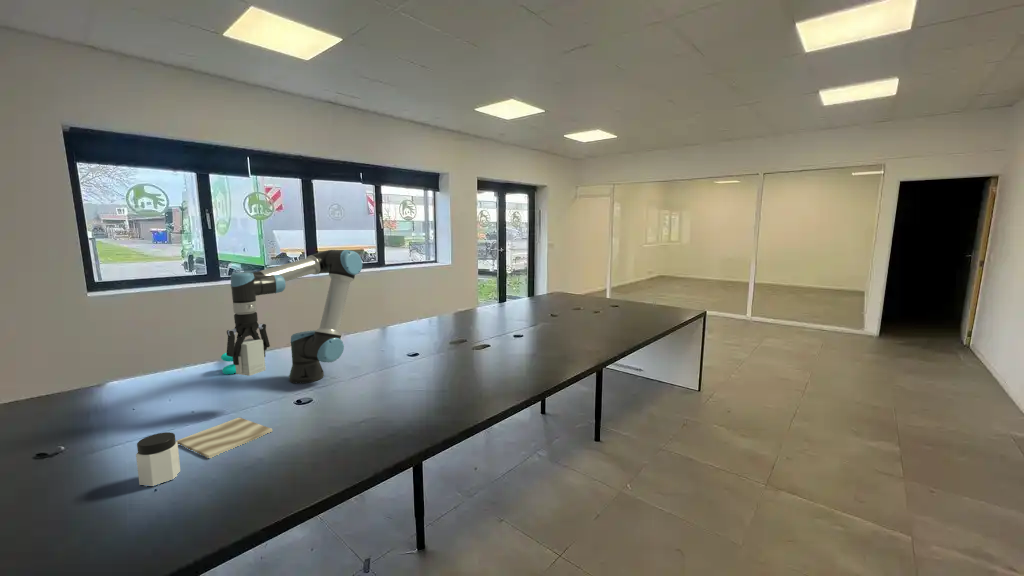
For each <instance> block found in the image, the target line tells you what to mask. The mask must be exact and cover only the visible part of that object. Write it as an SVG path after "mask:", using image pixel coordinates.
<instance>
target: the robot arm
mask: <svg viewBox="0 0 1024 576" xmlns="http://www.w3.org/2000/svg"><path fill="white" fill-rule="evenodd" d="M362 269H363V261H362V258H361V256H360V254H359V253H357V252H356V251H354V250H348V249H328V250H324V251H321V252H317V253H313V254H311V255H308V256H306V258H303V259H300V260H296V261H292V262H288V263H284V264H281V265H276V266H274V267H270V268H266V269H263V270H259V271H255V272H254V271H253V272H250V271H246V272H245V271H244V272H234V273H232V274H230V288H231V297H232V298H231V299H232V306H233V307H232V309H233V313H234V315H233V318H234V319H233V320H234V325H235V326H234V328H233V329H228V330H227V329H226V335H227V342H226V353H227V356H230V357H233V361H232V362H233V363H232V364H234V365H236V372H238V373H243V372H242V362H241V356H239V353H240V350H241V344H243V341H244V340H246V338H247V337H249V336H251V337H252V339H255V340H263V347H264V357H265V358H266V355H267V354H266V351H267V348H270V347H271V345H270V342H269V337H268V333H267V324H266V323H259V322H258V312H257V311H258V309H257V308H258V307H257V298H256V297H258V296H261V295H262V296H264V295H274V294H278V293H282V292H283V291H285V289H286V285H287V284H286V282H288V281H289V282H290V281H292V280H295V279H298V278H302V277H305V276H308V275H315V276H316V275H319V274H328V276H329V278H330V282H329V287H328V291H327V295H326V299H325V304H324V307H323V313H322V315H321V320H320V324H319V328H317V329H316V330H314V329H313V330H305V331H300V332H299V331H298V332H295V333H293V334H292V335H291V337H290V349H291V350H290V351H291V363H292V364H291V368H290V373H289V375H288V380H289V382H290V383H293V384H308V383H312V382H317V381H319V380H321V379H323V378H324V377H325V374H324V373H325V372H324V369H323V367H322V364H321V363H334V362H335V361H337V360H338V359H340V357H341V356H342V354H343V352H344V350H345V344H344V342H343V340H342V339H341V338H342V334H341V332H340V327H341V323H342V320H343V315H344V312H345V306H346V301H347V297H348V292H349V288H350V285H351V282H353V281H354V280H355V277H356V275H358V274H359V273H361V271H362ZM258 329H259V330H258ZM258 331H259V333H258ZM236 334H237V335H236ZM259 334H260V336H259ZM235 335H236V336H235ZM234 343H235V346H234ZM323 376H324V377H323Z"/></svg>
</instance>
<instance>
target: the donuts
mask: <svg viewBox="0 0 1024 576" xmlns="http://www.w3.org/2000/svg"><path fill="white" fill-rule="evenodd" d="M220 359H221V360H222V361H224V362H229V363H230V364H228V365H226V366H223V368H222V369H221V371H222V374H224V375H228V374H230V375H235V374H234V373H236V367H235V365H234V364H233V363H231V362H233V357H230V356H227V352H225V353H223V354H222V355H220Z"/></svg>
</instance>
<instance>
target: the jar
mask: <svg viewBox="0 0 1024 576" xmlns="http://www.w3.org/2000/svg"><path fill="white" fill-rule="evenodd" d="M176 441H177V440H176V434H175V433H174V432H169V431H168V432H160V433H155V434H151V435H148V436H145V437H143V438H141V439H139V440H138V442H137V443H136V447H137V452H136V454H135V457H136V465H137V474H138V483H139V486H140V485H149V486H154V485H157V484H160V483H163V482H166V481H169V480H172V479H174V478H175V477H176V478H177V476H178V475H179V474H180V473H179V472H181V463H180V452H179V445H178V442H176ZM178 473H179V474H178ZM177 474H178V475H177ZM176 478H175V479H176ZM175 479H174V480H175Z"/></svg>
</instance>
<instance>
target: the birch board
mask: <svg viewBox="0 0 1024 576" xmlns="http://www.w3.org/2000/svg"><path fill="white" fill-rule="evenodd" d="M270 432H272V433H273V428H271V427H268V426H265V425H263V424H259V423H257V422H254V421H251V420H248V419H246V418H242V417H236V418H234V419H231V420H229V421H226V422H222V423H221V424H218V425H215V426H212V427H209V428H207V429H204V430H201V431H199V432H196V433H193V434H191V435H188V436H185V437H183V438H180V439H178V440H176V442H178V444H180V445H182V446H184V447H186V448H188V449H190V450H193V451H195V452H197V453H199V454H201V455H203V456H205V457H204V458H206V457H207V458H206V459H208V458H211V459H213V458H212V457H214V456H216V455H218V456H220V455H219V454H220V453H223V452H225V451H227V452H229V451H228V450H230V449H232V450H234V449H236V448H235V447H237V446H239V447H241V446H243V445H242V444H244V445H246V444H248V443H250V442H249V441H251V442H253V441H255V440H257V438H258V439H260V438H262V437H264V436H263V435H265V434H267V433H269V434H271V433H270ZM267 435H268V434H267ZM261 436H262V437H261ZM265 436H266V435H265ZM259 437H260V438H259ZM254 439H255V440H254ZM252 440H253V441H252ZM247 442H248V443H247ZM245 443H246V444H245ZM240 445H241V446H240ZM184 447H183V448H184ZM186 448H185V449H186ZM233 448H234V449H233ZM237 448H238V447H237ZM188 449H187V450H188ZM190 450H189V451H190ZM230 451H231V450H230ZM195 452H194V453H195ZM197 453H196V454H197ZM225 453H226V452H225ZM199 454H198V455H199ZM223 454H224V453H223ZM201 455H200V456H201ZM203 456H202V457H203ZM216 457H217V456H216ZM214 458H215V457H214Z"/></svg>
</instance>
